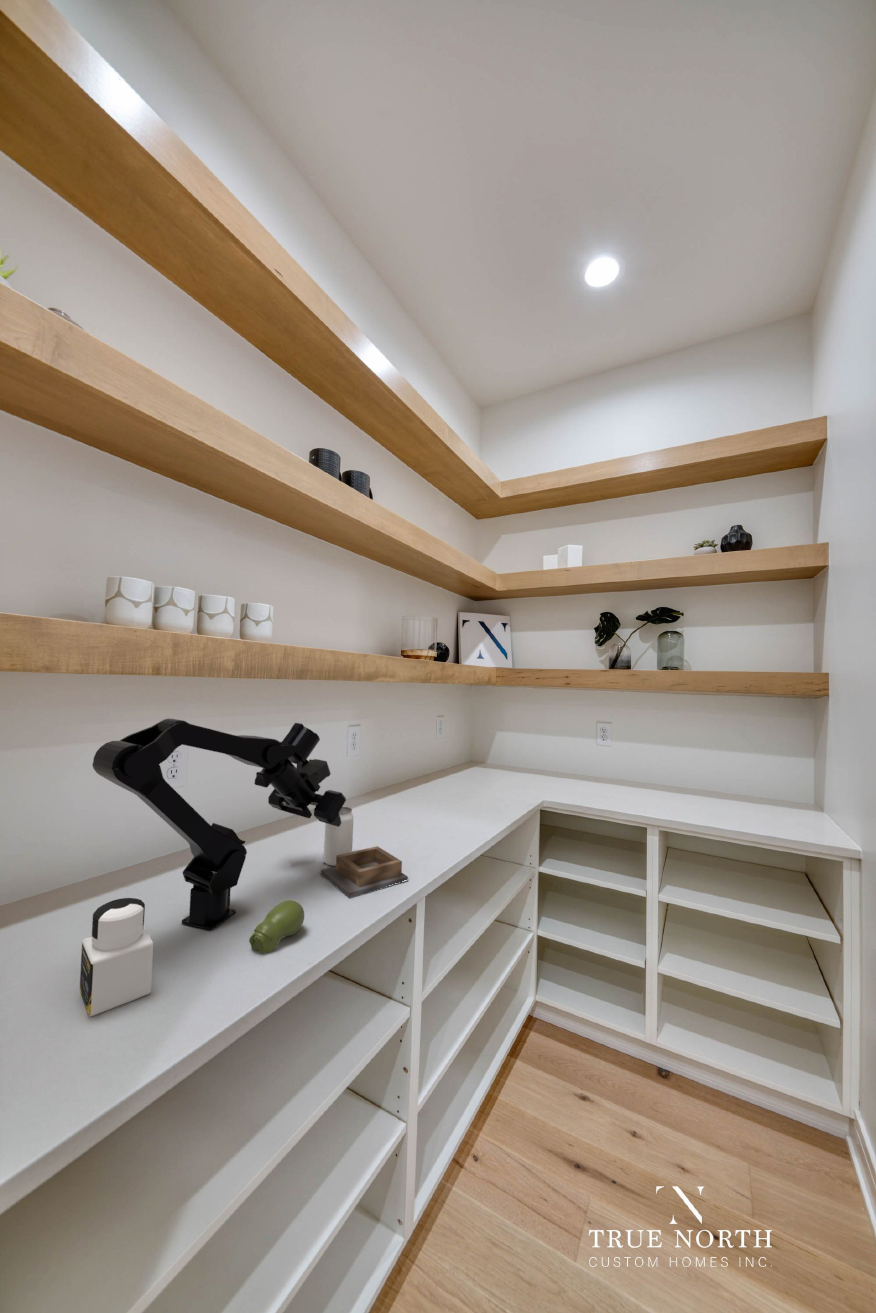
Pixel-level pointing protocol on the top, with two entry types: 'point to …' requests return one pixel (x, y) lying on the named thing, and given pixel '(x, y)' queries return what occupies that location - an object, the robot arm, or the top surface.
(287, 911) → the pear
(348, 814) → the can
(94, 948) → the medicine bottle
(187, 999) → the top surface
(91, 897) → the top surface
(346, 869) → the socket holder
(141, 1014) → the top surface
